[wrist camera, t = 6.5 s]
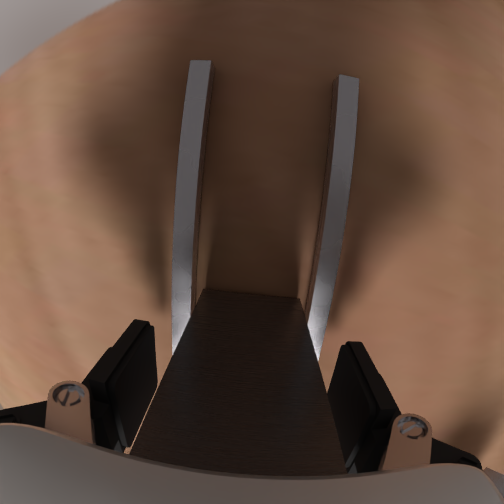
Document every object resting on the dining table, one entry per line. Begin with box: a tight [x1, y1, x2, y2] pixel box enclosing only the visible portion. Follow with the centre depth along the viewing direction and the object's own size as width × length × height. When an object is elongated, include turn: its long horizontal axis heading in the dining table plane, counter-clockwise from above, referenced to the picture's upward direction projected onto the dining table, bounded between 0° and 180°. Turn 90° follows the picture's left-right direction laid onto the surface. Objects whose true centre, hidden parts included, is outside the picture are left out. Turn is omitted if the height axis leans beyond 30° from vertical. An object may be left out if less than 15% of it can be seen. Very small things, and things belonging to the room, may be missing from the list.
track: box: [172, 60, 359, 360], centre depth 12 cm, size 6×13×1 cm, turn 174°
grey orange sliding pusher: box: [129, 289, 347, 476], centre depth 10 cm, size 7×14×9 cm, turn 174°
